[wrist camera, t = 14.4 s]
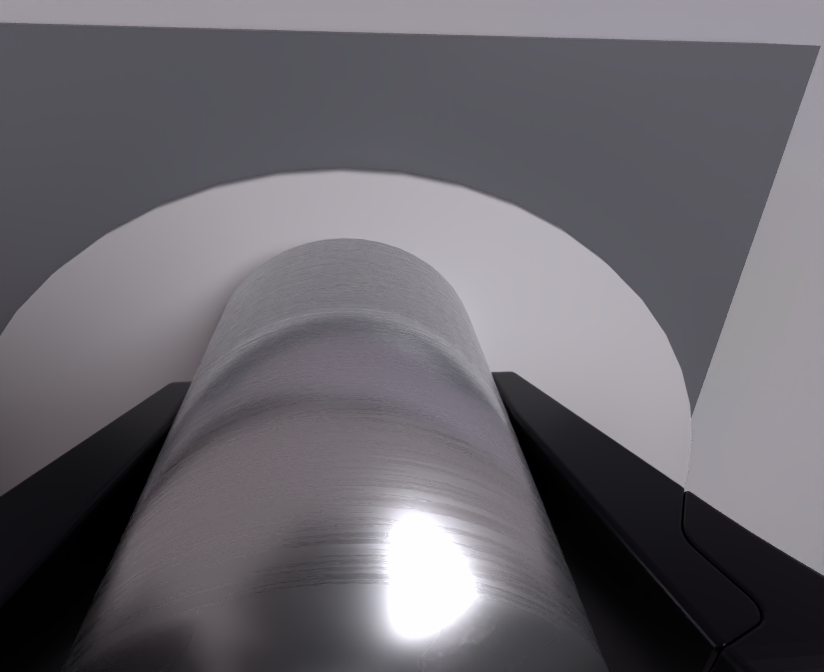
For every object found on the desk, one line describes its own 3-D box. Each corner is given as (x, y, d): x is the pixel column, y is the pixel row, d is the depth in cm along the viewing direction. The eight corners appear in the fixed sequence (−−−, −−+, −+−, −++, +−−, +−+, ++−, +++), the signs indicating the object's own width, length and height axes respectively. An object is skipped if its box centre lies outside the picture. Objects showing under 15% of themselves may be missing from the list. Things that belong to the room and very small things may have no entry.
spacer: (465, 451, 11) (569, 849, 6) (235, 462, 10) (117, 901, 5) (484, 236, 9) (686, 560, 3) (196, 239, 8) (-78, 612, 3)
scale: (579, 657, 20) (616, 762, 17) (1, 705, 18) (-64, 832, 15) (765, 43, 10) (924, 50, 7) (-447, 10, 8) (-859, 3, 6)
